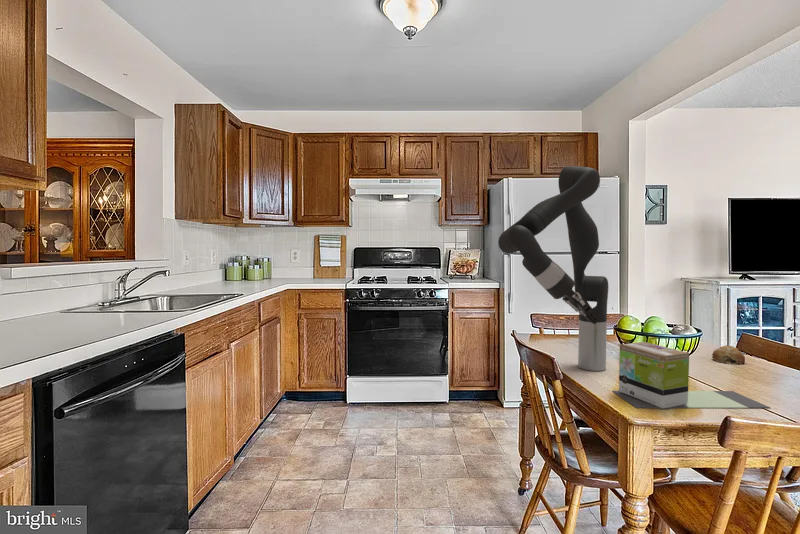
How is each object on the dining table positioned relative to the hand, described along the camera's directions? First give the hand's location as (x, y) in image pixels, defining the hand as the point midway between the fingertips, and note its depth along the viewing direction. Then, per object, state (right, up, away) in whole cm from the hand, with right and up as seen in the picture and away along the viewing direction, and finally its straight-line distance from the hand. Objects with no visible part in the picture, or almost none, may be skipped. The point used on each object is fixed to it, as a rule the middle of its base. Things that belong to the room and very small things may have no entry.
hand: (595, 321), depth 132 cm
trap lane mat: (+25, -22, -3) cm, 33 cm away
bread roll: (+68, -21, +41) cm, 82 cm away
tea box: (+15, -22, -3) cm, 27 cm away
